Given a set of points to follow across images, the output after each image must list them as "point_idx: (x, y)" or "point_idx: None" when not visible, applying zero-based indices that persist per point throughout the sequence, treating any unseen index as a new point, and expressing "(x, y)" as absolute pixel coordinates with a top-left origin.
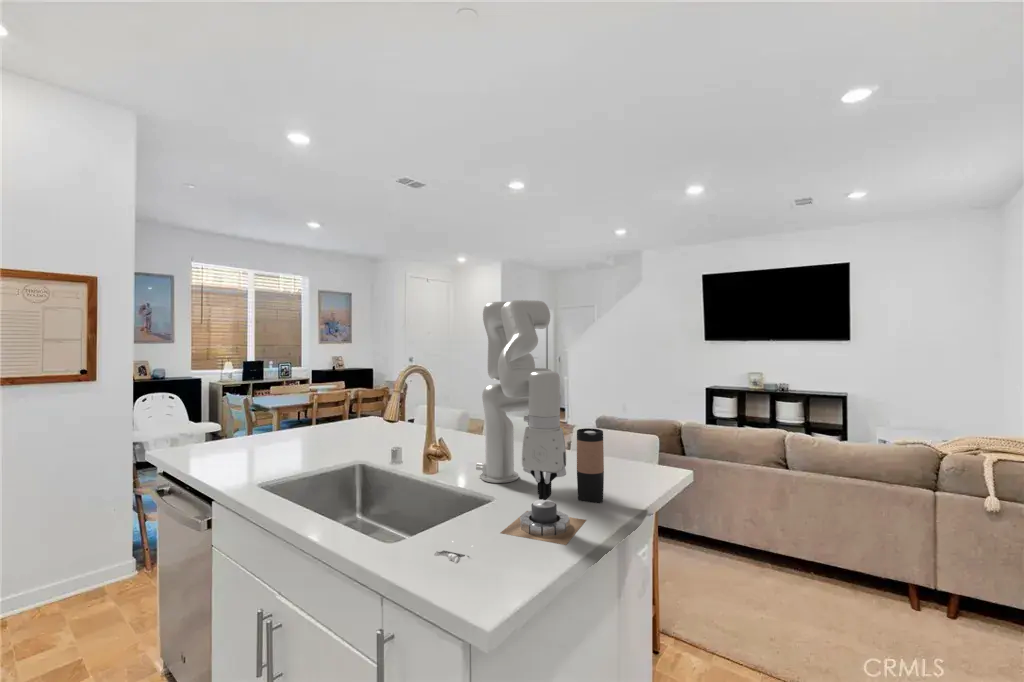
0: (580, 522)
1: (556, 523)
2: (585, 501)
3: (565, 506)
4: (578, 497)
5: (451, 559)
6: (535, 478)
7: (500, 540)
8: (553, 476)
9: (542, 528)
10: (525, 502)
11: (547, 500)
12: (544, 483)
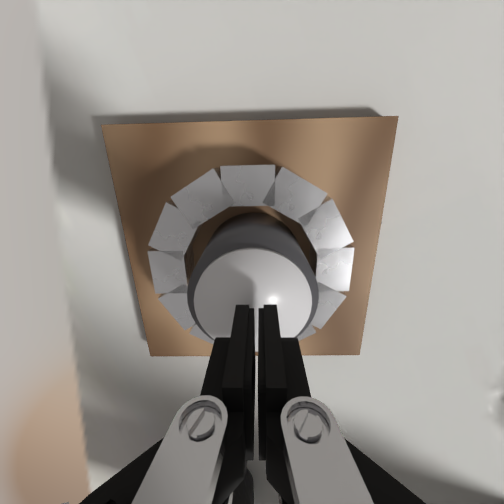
0: (156, 332)
1: (180, 235)
2: None
3: None
4: (246, 481)
5: None
6: (340, 437)
7: (378, 99)
8: (102, 502)
9: (219, 175)
10: (389, 422)
11: None
12: (234, 397)
